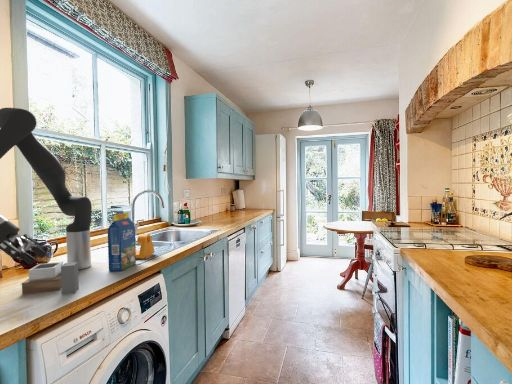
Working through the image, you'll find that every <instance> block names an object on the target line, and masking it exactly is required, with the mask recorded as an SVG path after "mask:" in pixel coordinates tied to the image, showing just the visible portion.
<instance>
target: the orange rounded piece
mask: <svg viewBox="0 0 512 384" xmlns="http://www.w3.org/2000/svg"><path fill="white" fill-rule="evenodd" d="M136 241H137V244H138V246H139V245H140V246H139V250H138V251H137V250H136V259H148V258H150V257H152V255H153V254H155V248H154V244H153V239H152V236H151V234H139V235H138V237H137V240H136Z"/></svg>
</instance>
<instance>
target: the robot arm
mask: <svg viewBox="0 0 512 384" xmlns="http://www.w3.org/2000/svg"><path fill="white" fill-rule="evenodd" d="M37 123H38V121H37V118H36V116H35V115H34V114H33V113H32V112H31V111H29V110H27V109H24V108H19V107H2V108H0V160H1V159H2V158H3V157H4V156H5V155H6V154H7V153H8V152H9V151H10V150H11V149H13V148H14V147H15V146H16V147H17V149H18V150H19V152H20V153H21V154H22V156H23V157H24V159H25V160H26V161H27V163H28V164H29V165H30V167H31V168H32V170H33V171H34V172H35V174H36V175H37V176H38V178H39V179H40V181H42V183H43V184H44V186H45V187H46V188H47V190H48V192H49V193H50V194H51V196H52V197H53V198H54V201H55V203H56V204H57V206H58V207H59V209H60V211H61V212H62V213H63V214H64V215H66V216H69V217H73V219H74V220H73V221H72V222H71V223H70V224H67V225H65V226H66V227H65V237H66V263H74V262H78V271H79V270H85V269H88V268H89V267H91V266H92V260H91V259H92V255H91V252H92V251H91V230H90V229H91V228H90V227H91V224H92V212H93V211H92V208H93V207H92V202H91V200H90V199H89V197H87V196H83V195H81V196H80V195H79V196H78V195H77V196H76V195H75V196H74V195H72V193H70V191H69V190H68V188H67V185H66V176H67V175H66V170H65V169H64V166H63V165H62V164H61V162H60V160H59V159H58V158H57V156H55V154H54V153H52V151H50V150H49V149H48V148H47V147H46V146H45V145H43V144H42V143H41V142H40V141H39V140H38V139H37V138H36V136H35V135H34V133H33V131H34V130H35V129H36V127H37V125H38V124H37ZM19 232H20V228H19V227H18V226H16V225H15V224H14V223H12V222H11V221H10V220H9V219H8V218H6V217H4V216H3V215H2V214H0V251H2V252H4V253H5V254H6V255H8V256H10V258H12V259H16V258H17V259H21V260H22V261H24V262H25V263H26V264H28V265H29V266H30V265H32V264H33V263H35V262H36V260H37V259H36V257H34V256H32V255H31V254H30V253H28V252H26V251H29V252H32V253H33V254H35V255H36V256H37V257H39V258H40V259H43V258H45V256H47V254H48V252H46V251H45V250H44V249H42V248H41V247H39V246H40V244H41V243H40V242H39V241H37V240H36V239H34V238H33V237H31V236H30V235H28V234H27V233H24V234H23V235H20V234H19Z"/></svg>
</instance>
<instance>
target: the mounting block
mask: <svg viewBox="0 0 512 384" xmlns="http://www.w3.org/2000/svg"><path fill="white" fill-rule="evenodd" d="M60 290H62V282H61V274H60V275H59V276H58V277H57V278H55V279H46V280H36V281H29V278H28V279H25V280H24V281H23V282H21V292H22V295H29V294H30V295H31V294H37V293H45V292H46V293H47V292H54V291H55V292H56V291H60Z"/></svg>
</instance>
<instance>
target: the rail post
mask: <svg viewBox="0 0 512 384" xmlns="http://www.w3.org/2000/svg"><path fill="white" fill-rule="evenodd" d="M61 282H62V288H61V296H64V295H70V294H76V293H77V292H78V291H79V289H80V288H79V287H80V286H79V282H80V281H79V270H78V262H74V263H67V262H66V263H63V265H62V266H61Z"/></svg>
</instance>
